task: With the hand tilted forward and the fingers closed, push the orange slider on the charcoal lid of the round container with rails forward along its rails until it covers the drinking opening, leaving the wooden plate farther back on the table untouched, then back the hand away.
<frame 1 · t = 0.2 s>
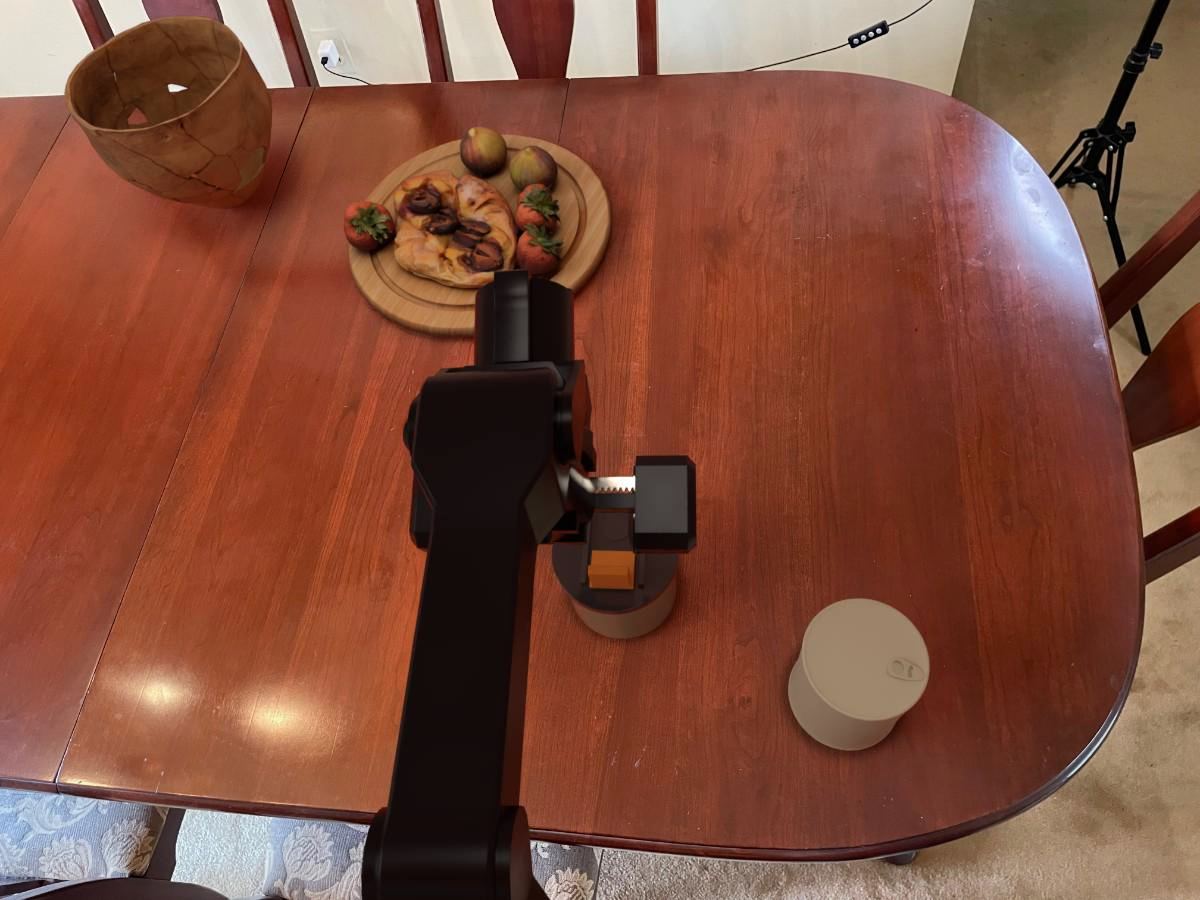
hand: (571, 527, 64), 17 cm above the table, tool pointing down, fingers open, 9 cm apart
bowl: (236, 202, 111), on the table
round container with rails: (623, 586, 79), on the table
slider: (610, 563, 69), point 11 cm above the table, slide at 0.0 cm
wooden plate: (481, 238, 103), on the table
can: (842, 695, 72), on the table
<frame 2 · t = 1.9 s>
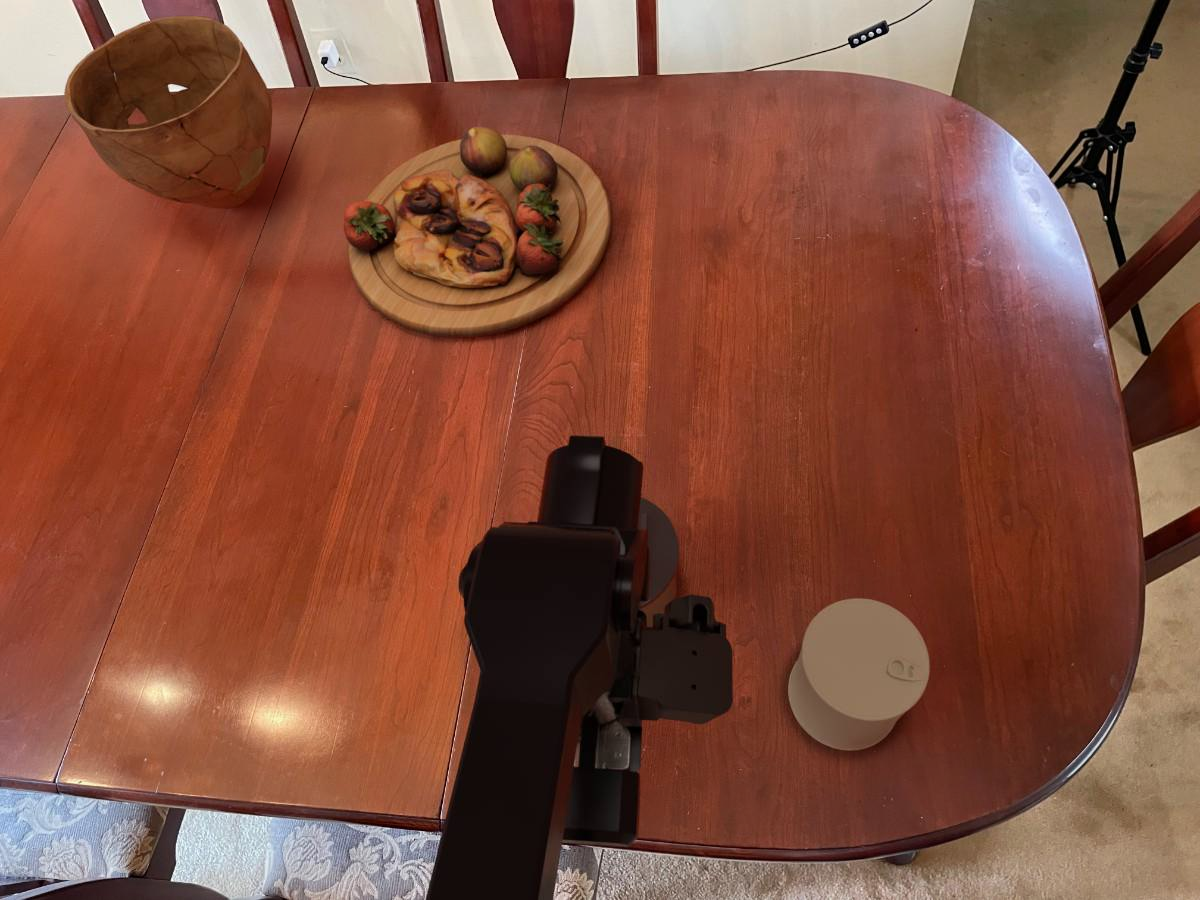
hand: (608, 710, 61), 13 cm above the table, tool pointing down, fingers open, 3 cm apart
nothing on the table moved.
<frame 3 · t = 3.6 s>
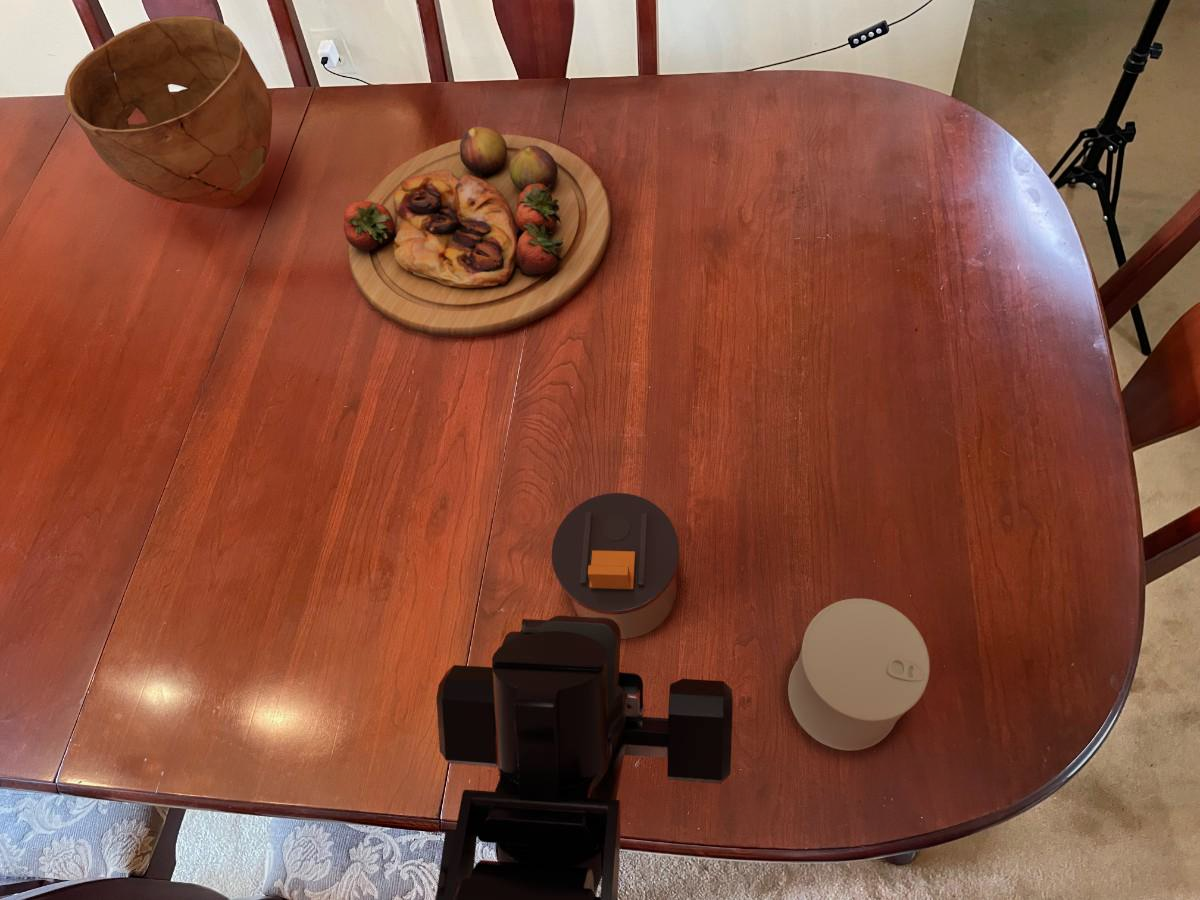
hand: (600, 660, 62), 13 cm above the table, tool tilted 45°, fingers closed
nothing on the table moved.
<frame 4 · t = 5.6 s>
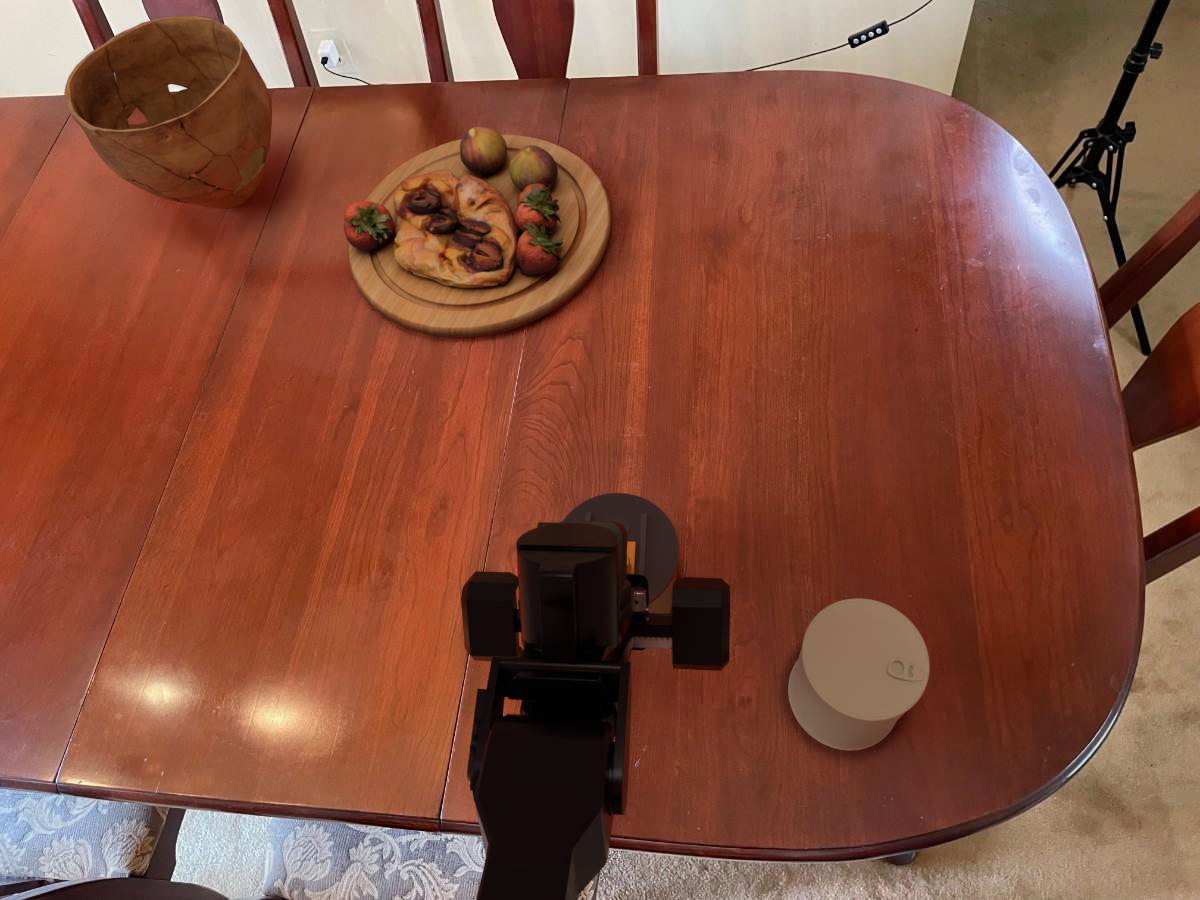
hand: (609, 571, 68), 11 cm above the table, tool tilted 45°, fingers closed, pressing on slider
slider: (611, 553, 69), point 11 cm above the table, slide at 0.9 cm, touching gripper
everything else where it was.
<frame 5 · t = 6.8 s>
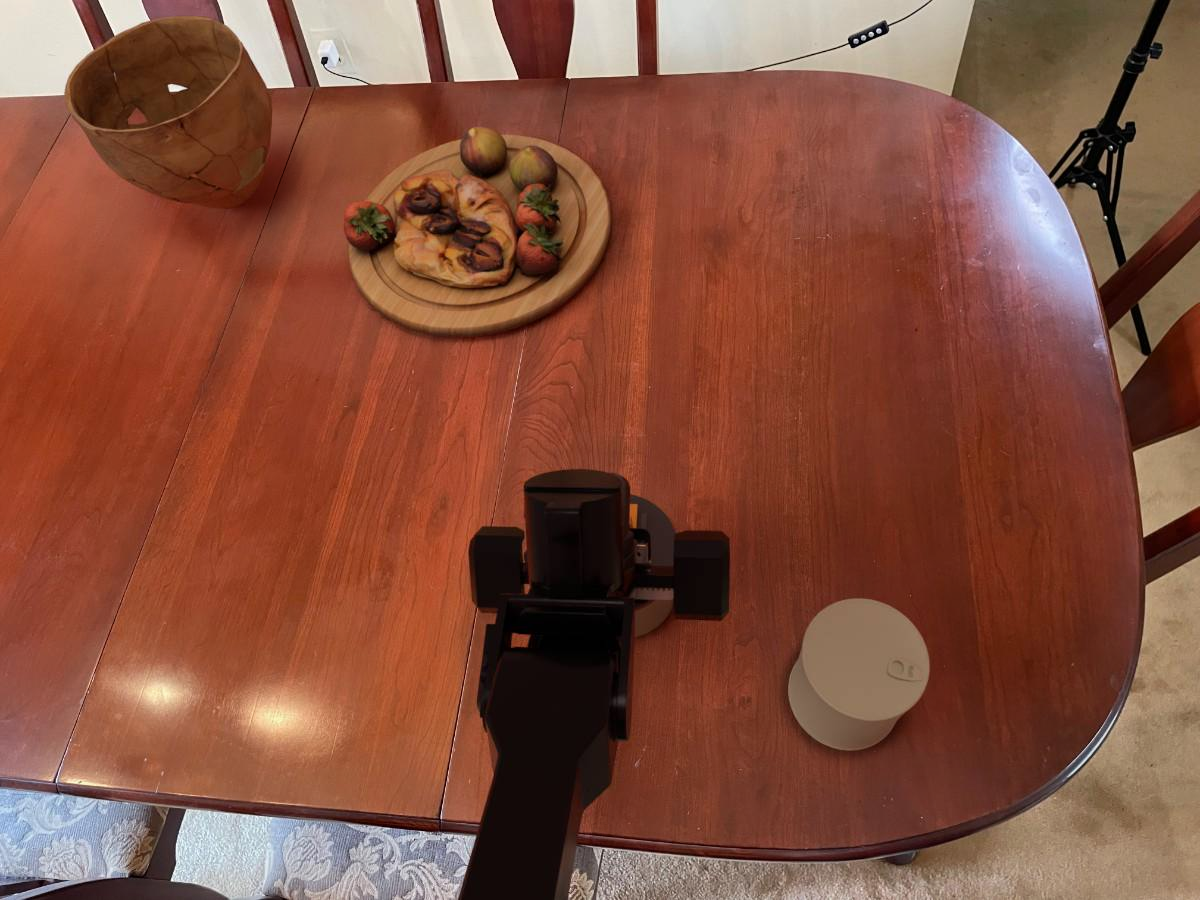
hand: (612, 531, 69), 11 cm above the table, tool tilted 45°, fingers closed, pressing on slider
slider: (614, 514, 71), point 11 cm above the table, slide at 4.4 cm, touching gripper
everything else where it was.
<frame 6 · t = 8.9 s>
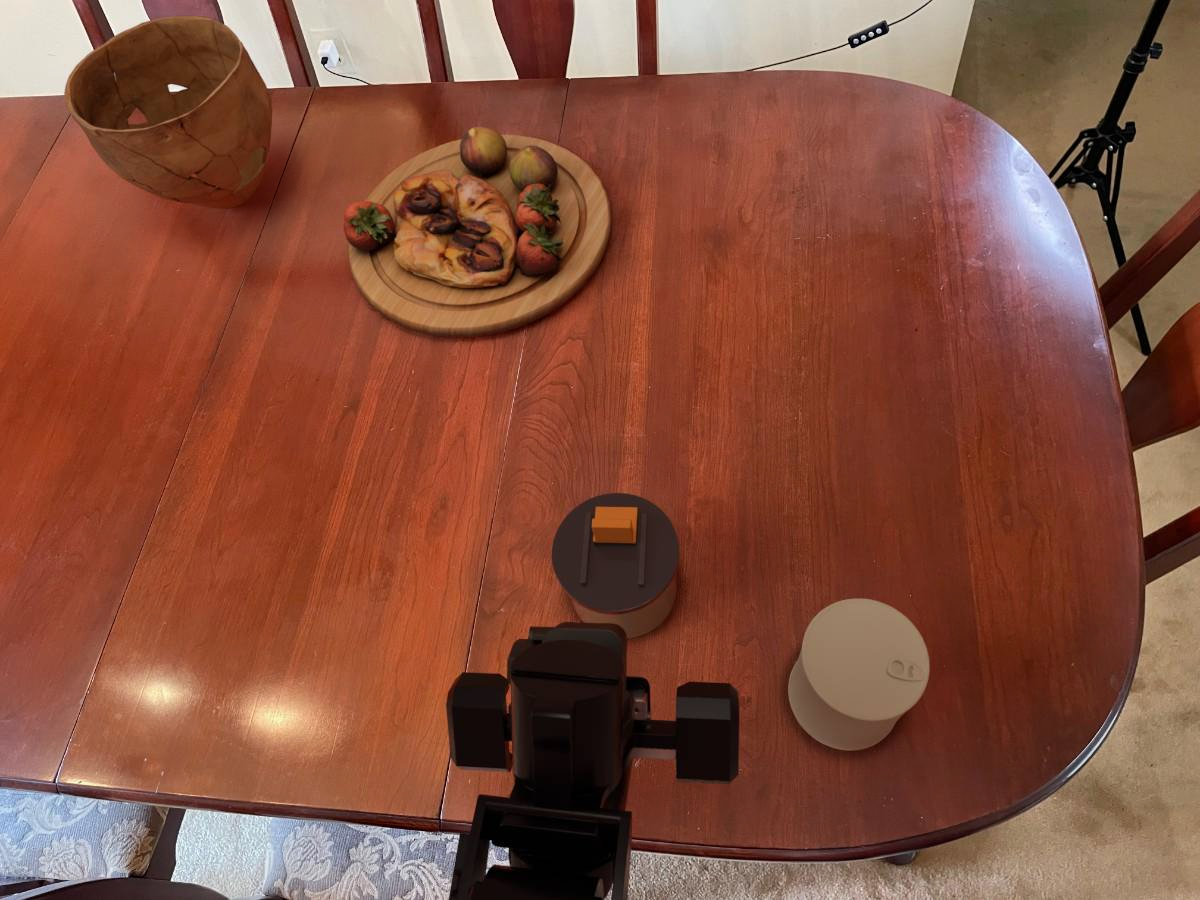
hand: (607, 663, 63), 13 cm above the table, tool tilted 45°, fingers closed
slider: (614, 517, 71), point 11 cm above the table, slide at 4.1 cm
everything else where it was.
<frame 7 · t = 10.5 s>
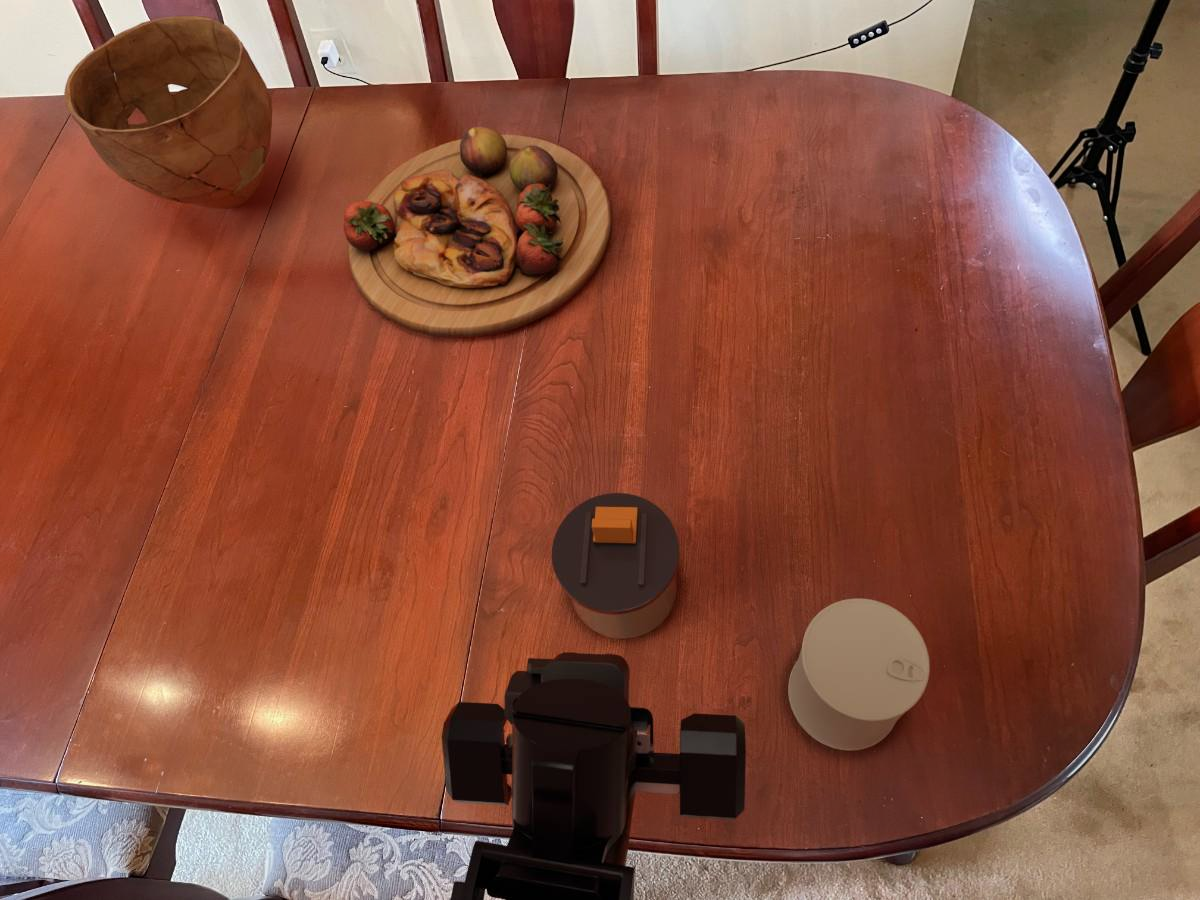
hand: (609, 688, 61), 14 cm above the table, tool tilted 45°, fingers closed
nothing on the table moved.
at the end: slider slide at 4.1 cm; slider 0.0 cm from the target spot on the round container with rails, point 10.8 cm above the round container with rails's base; slider 44.7 cm from the wooden plate (horizontally) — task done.
